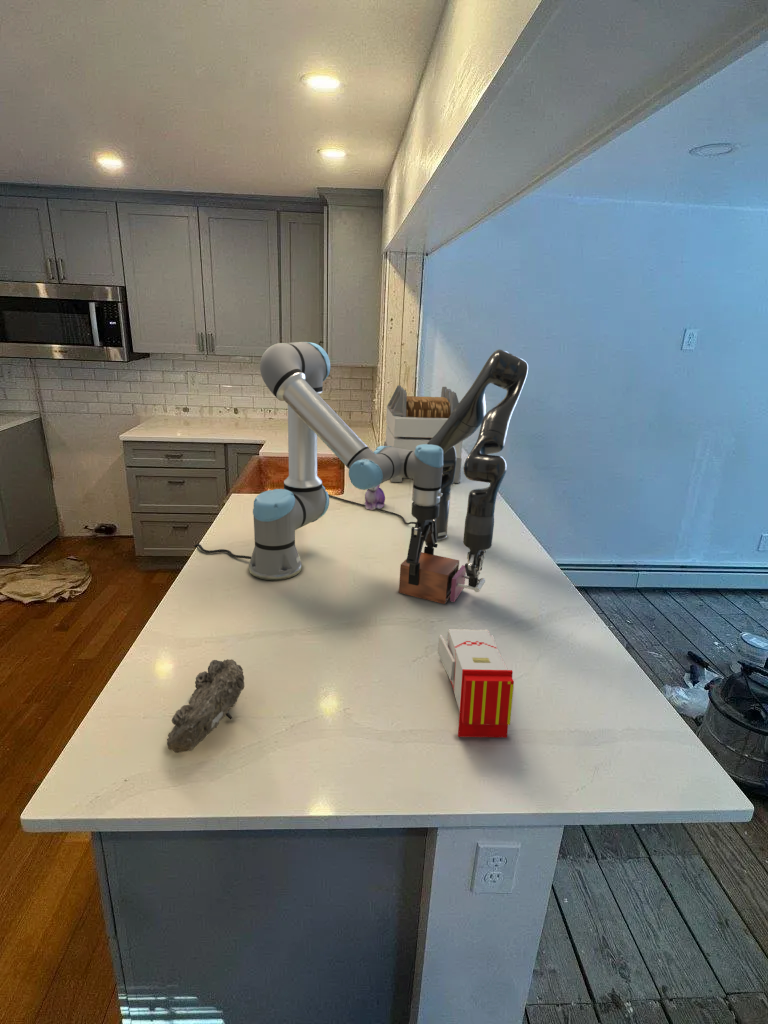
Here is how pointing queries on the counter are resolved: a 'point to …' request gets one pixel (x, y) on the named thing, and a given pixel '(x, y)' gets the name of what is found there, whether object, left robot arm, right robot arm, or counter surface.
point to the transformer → (419, 422)
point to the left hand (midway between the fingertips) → (420, 575)
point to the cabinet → (429, 578)
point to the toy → (478, 682)
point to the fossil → (206, 705)
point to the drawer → (460, 583)
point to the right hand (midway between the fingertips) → (472, 587)
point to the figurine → (374, 498)
